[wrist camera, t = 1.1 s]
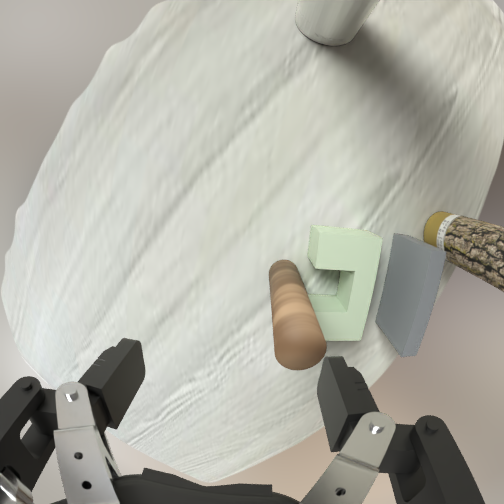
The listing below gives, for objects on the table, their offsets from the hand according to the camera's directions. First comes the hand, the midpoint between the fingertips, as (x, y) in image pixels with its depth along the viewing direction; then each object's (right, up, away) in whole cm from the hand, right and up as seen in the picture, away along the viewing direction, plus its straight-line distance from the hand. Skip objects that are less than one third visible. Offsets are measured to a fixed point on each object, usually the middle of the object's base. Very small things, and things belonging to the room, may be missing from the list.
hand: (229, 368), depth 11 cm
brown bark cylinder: (+30, +8, +24) cm, 39 cm away
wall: (+22, +1, +26) cm, 34 cm away
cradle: (+13, +1, +26) cm, 29 cm away
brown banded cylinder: (+5, +2, +26) cm, 27 cm away
